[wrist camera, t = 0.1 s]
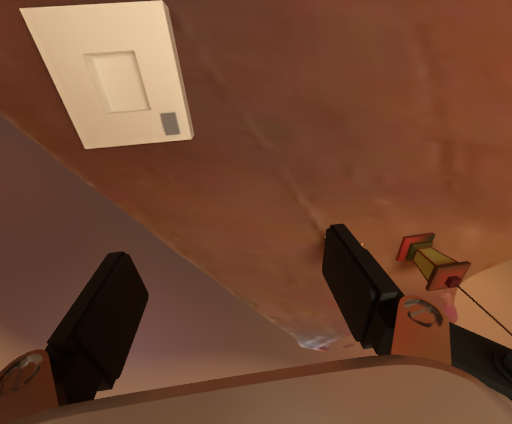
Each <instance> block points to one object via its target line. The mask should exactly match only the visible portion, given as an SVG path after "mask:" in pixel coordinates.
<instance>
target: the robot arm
mask: <svg viewBox="0 0 512 424" xmlns="http://www.w3.org/2000/svg"><path fill="white" fill-rule="evenodd" d="M322 272H323V275H324V278H325V280H326V282H327V284H328V286H329V288H330V290H331V292H332V294H333V296H334V298H335V300H336V302H337V304H338V306H339V308H340V310H341V313H342V315H343V317H344V319H345V321H346V323H347V325H348V327H349V329H350V331H351V333H352V335H353V337H354V339H355V340H356V341H357V342H359V341H360V343H361V345H362V347H363V349H368V348H373V349H374V351H375V353H376V354H378V356H367V357H359V358H352V359H345V360H337V361H330V362H323V363H317V364H310V365H304V366H298V367H292V368H284V369H278V370H271V371H265V372H258V373H252V374H246V375H240V376H233V377H227V378H221V379H215V380H208V381H203V382H196V383H190V384H184V385H178V386H172V387H165V388H160V389H154V390H148V391H141V392H135V393H129V394H123V395H117V396H112V397H106V398H101V399H96V400H94V397H95V395H96V393H97V391H103V390H110V389H112V388H113V385H114V382H115V380H116V379H118V378H119V377H120V375H121V372H122V370H123V367H124V365H125V361H126V359H127V356H128V353H129V351H130V348H131V345H132V343H133V340H134V337H135V334H136V331H137V329H138V326H139V323H140V320H141V318H142V315H143V312H144V309H145V307H146V304H147V301H148V291H147V289H146V287H145V285H144V283H143V281H142V279H141V277H140V275H139V273H138V271H137V269H136V267H135V265H134V263H133V261H132V259H131V257H130V255H129V254H126V253H125V252H114V253H109V254H108V255H107V256H106V257H105V259H104V260H103V262H102V263H101V265H100V266H99V267H98V269H97V270H96V272H95V273H94V275H93V276H92V277H91V279H90V280H89V282H88V283H87V285H86V286H85V288H84V289H83V291H82V292H81V293H80V295H79V296H78V298H77V299H76V301H75V302H74V304H73V305H72V307H71V308H70V309H69V311H68V312H67V314H66V315H65V317H64V318H63V320H62V321H61V323H60V324H59V325H58V327H57V328H56V330H55V331H54V333H53V334H52V335H51V337H50V338H49V340H48V341H47V343H48V346H47V347H46V349H45V350H42V349H39V350H33V351H30V352H27V353H25V354H23V355H22V356H19V357H18V358H16V359H15V360H14V361H12V362H11V363H9V364H8V365H7V366H6V367H5V368H4V369H3V370H2V371H1V372H0V424H512V349H510V348H507V347H505V346H503V345H501V344H498V343H496V342H494V341H491V340H489V339H487V338H485V337H482V336H480V335H478V334H476V333H473V332H471V331H469V330H466V329H464V328H462V327H460V326H457V325H455V324H453V323H450V322H449V320H448V317H447V315H446V314H445V312H444V311H443V310H442V309H441V308H440V307H439V306H438V305H437V304H435V303H434V302H432V301H431V300H429V299H427V298H424V297H421V296H417V295H407V296H405V295H404V294H403V293H402V292H401V290H400V289H399V288H398V287H397V286H396V284H395V283H394V282H393V281H392V279H391V278H390V277H389V276H388V275H387V273H386V272H385V271H384V270H383V268H382V267H381V266H380V265H379V264H378V262H377V261H376V260H375V259H374V257H373V256H372V255H371V254H370V253H369V251H368V250H366V249H364V248H363V247H362V246H361V245H360V243H359V242H358V241H357V240H356V238H355V237H354V236H353V235H352V233H351V232H350V231H349V230H348V228H347V227H346V226H345V225H344V224H335V225H331V226H330V228H328V229H327V230H326V238H325V247H324V256H323V265H322Z"/></svg>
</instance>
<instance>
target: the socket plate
mask: <svg viewBox="0 0 512 424" xmlns="http://www.w3.org/2000/svg"><path fill="white" fill-rule="evenodd" d="M19 9H20V11H21V13H22V15H23V18H24V20H25V22H26V24H27V26H28V28H29V30H30V32H31V35H32V37H33V39H34V41H35V43H36V45H37V47H38V50H39V52H40V54H41V56H42V58H43V60H44V62H45V64H46V67H47V69H48V71H49V73H50V75H51V77H52V79H53V82H54V84H55V86H56V88H57V90H58V92H59V94H60V96H61V99H62V101H63V103H64V105H65V107H66V109H67V111H68V114H69V116H70V118H71V120H72V122H73V124H74V126H75V128H76V131H77V133H78V135H79V137H80V139H81V141H82V143H83V145H84V148H85V149H91V148H102V147H113V146H124V145H135V144H145V143H156V142H167V141H178V140H189V139H192V138H193V136H194V131H193V127H192V122H191V117H190V112H189V107H188V102H187V97H186V92H185V88H184V83H183V78H182V73H181V68H180V63H179V58H178V53H177V49H176V44H175V39H174V34H173V29H172V24H171V19H170V14H169V10H168V7H167V6H166V4H165V3H164V2H163V1H162V0H161V1H143V2H126V3H108V4H90V5H72V6H54V7H37V8H19Z"/></svg>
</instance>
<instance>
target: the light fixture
mask: <svg viewBox="0 0 512 424" xmlns="http://www.w3.org/2000/svg"><path fill="white" fill-rule="evenodd" d="M434 236H435V234H434V233H427V234H420V235H413V236H405V237H403V240H402V243H401V246H400V249H399V252H398V255H397V258H396V260H397V261H404V260H407V261H409V260H413V261H414V263H415V264H416V266H417V267H418V269H419V270H420V272H421V273H422V274H423V276H424V277H425V279H426V280H427V282H428V284H427V286H426V290H427V291H433V290H439V289H446V288H454V287H458V288H460V287H459V284H460V283H461V281H462V279H463V277H464V275H465V274H466V272H467V270H468V269H469V267H470V265H471V263H469V262H468V261H466V262H457V261H455V260H453V259H452V258H450V257H448V256H446V255H444V254H443V253H441V252H439V251H437V250H435V249H434V248H432V247H431V246H432V243H433V242H432V241H433V239H434ZM460 289H461V288H460ZM461 290H462V291H463V292H464V293H465V294H466V295H467V296H468V297H469V298H471V299H472V300H473V301H474V302H475V303H476V304H477V305H478V306H479V307H480V308H482V309H483V310H484V311H485V312H486V313H487V314H488V315H489V316H490V317H492V318H493V319H494V320H495V321H496V322H497V323H498V324H499V325H500V326H502V327H503V328H504V329H505V330H506V331H507V332H508V333H509V334H510V335H511V336H512V333H510V332H509V331H508V330H507V329H506V328H505V327H504V326H503V325H502V324H501V323H499V322H498V321H497V320H496V319H495V318H494V317H493V316H491V315H490V314H489V313H488V312H487V311H486V310H485V309H484V308H483V307H482V306H481V305H479V304H478V303H477V302H476V301H475V300H474V299H473V298H472V297H470V296H469V295H468V294H467V293H466V292H465V291H464V290H463V289H461Z"/></svg>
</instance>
